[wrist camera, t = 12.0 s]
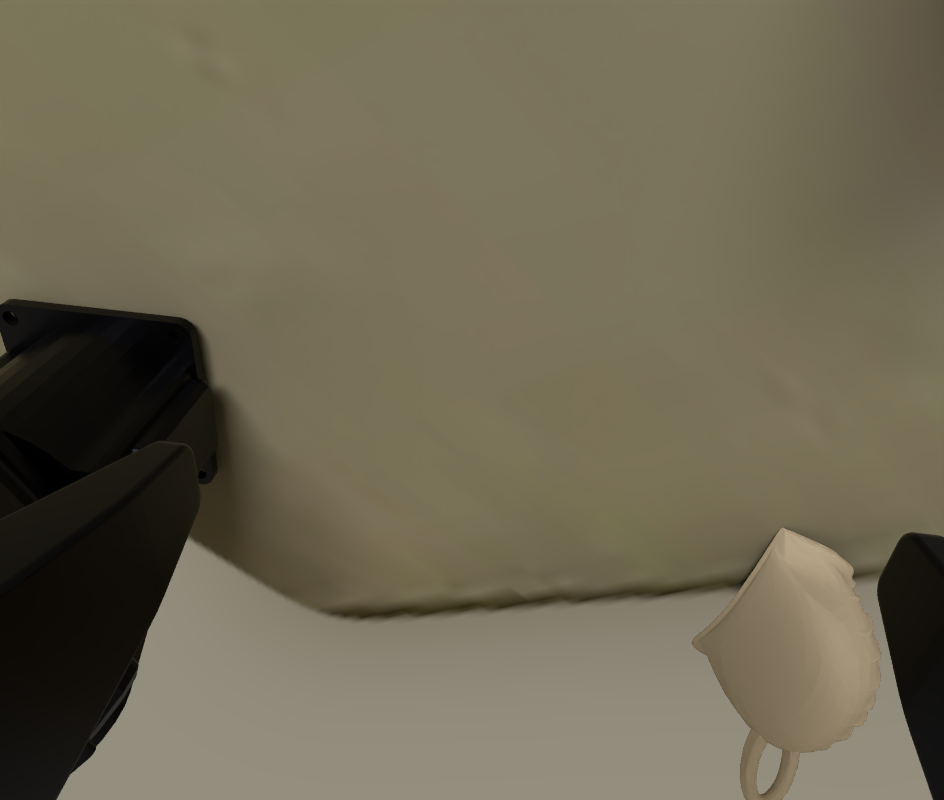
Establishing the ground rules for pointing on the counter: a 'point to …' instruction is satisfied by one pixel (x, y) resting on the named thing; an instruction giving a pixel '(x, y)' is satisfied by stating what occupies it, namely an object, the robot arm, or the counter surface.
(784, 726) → the decorative ornament
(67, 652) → the robot arm
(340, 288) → the counter surface
